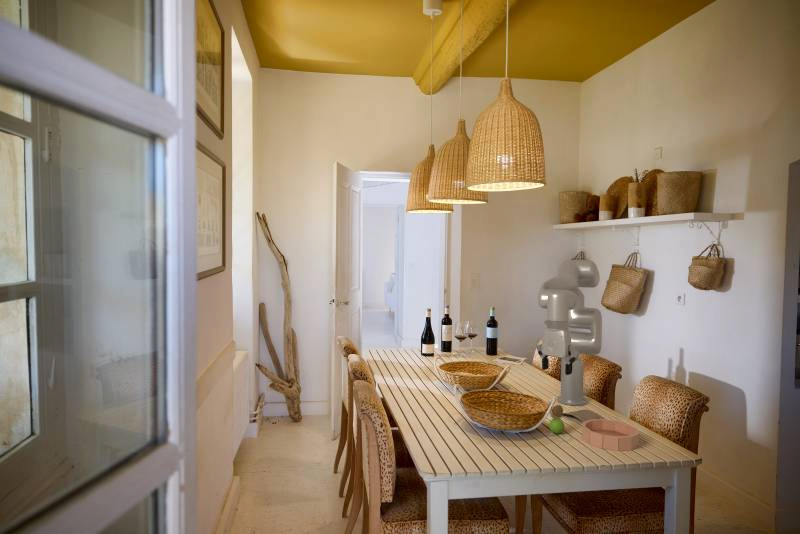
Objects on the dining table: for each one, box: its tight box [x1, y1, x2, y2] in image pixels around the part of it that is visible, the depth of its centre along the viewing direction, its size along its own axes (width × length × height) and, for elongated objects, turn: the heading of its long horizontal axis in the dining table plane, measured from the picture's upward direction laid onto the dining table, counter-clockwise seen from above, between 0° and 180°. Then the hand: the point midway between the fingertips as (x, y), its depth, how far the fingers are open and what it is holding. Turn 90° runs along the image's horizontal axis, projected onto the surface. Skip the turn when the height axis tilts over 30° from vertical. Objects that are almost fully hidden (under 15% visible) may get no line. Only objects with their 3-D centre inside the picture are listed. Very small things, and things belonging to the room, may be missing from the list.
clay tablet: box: [562, 408, 605, 423], centre depth 201 cm, size 16×11×3 cm
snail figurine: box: [547, 401, 565, 435], centre depth 184 cm, size 5×6×12 cm
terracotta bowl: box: [581, 418, 640, 452], centre depth 177 cm, size 18×18×4 cm
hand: (556, 371), depth 183 cm, fingers open, 9 cm apart
